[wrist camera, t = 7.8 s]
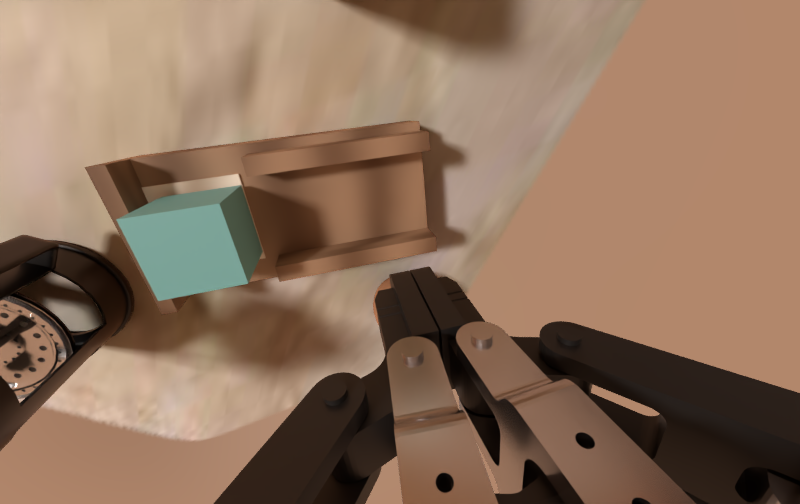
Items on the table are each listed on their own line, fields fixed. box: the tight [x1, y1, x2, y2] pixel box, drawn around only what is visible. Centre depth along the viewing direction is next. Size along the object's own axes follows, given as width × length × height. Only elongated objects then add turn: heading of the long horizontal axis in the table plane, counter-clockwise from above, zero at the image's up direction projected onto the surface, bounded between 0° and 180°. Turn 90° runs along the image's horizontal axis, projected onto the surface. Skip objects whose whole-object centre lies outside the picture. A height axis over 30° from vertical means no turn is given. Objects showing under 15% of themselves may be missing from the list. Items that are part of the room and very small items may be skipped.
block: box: [116, 185, 263, 301], centre depth 20 cm, size 5×5×5 cm
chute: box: [85, 121, 437, 315], centre depth 23 cm, size 20×10×6 cm, turn 96°
